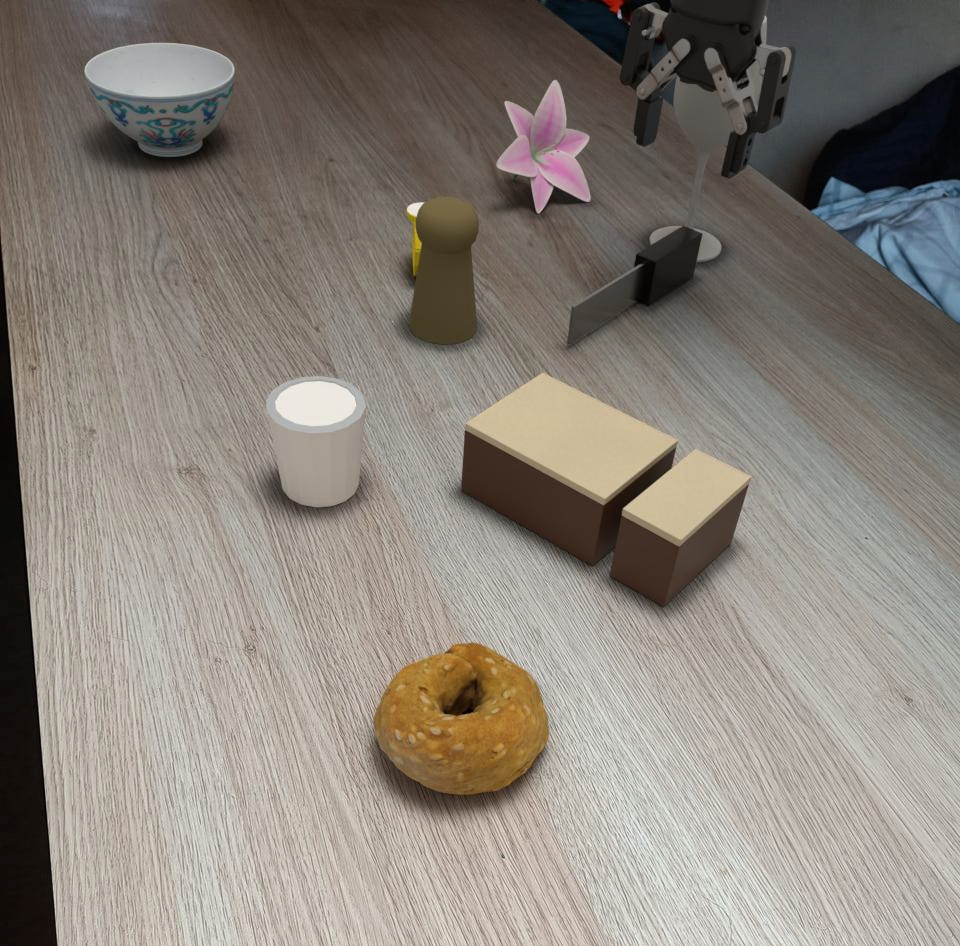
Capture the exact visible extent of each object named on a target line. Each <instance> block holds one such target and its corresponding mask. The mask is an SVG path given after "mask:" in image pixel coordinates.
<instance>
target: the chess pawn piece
mask: <svg viewBox="0 0 960 946" xmlns="http://www.w3.org/2000/svg"><path fill="white" fill-rule="evenodd" d="M423 203H424V204H422V206H421V207H420V209H419V210H418V214H417V217H416V226H415V228H416V232H417V236H418V238H419V240H420V241H421V243H422V245H421V251H420V258H419V264H418V270H417V276H416V277H415V282H414V290H413V295H412V302H411V308H410V315H409V319H408V327H409V330H410V332H411V333H412V334H413V335H414V336H415V337H417V338H419V339H420V340H422V341H425V342H428V343H431V344H438V345H454V344H458V343H462V342H466V341H468V340H469V339H471V338H473V337H474V336H475V334H476V333H477V330H478V319H477V307H476V306H477V305H476V293H475V292H476V291H475V280H474V269H473V268H474V267H473V252H472V245H473V244H474V243H475V242H476V240H477V237H478V234H479V229H480V219H479V215H478V214H477V211H476V209H475V208H474V206H473V205H472V204H471V203H470V202H468V201H466V200H465V199H461V198H459V197H454V196H438V197H433V198H430V199H428V200H426V201H424V202H423Z"/></svg>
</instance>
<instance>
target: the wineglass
mask: <svg viewBox="0 0 960 946" xmlns="http://www.w3.org/2000/svg"><path fill="white" fill-rule="evenodd" d="M767 32H768V18H767V15H765V18H764V20H763V23H762V27H761V38H762V43H763V44H766V45H767V35H768V33H767ZM749 70H750V73H751V76H752V79H753V82H754V86H755V90H756V91H755V99H756V103H757V104H759V99H760V94H761V88H762V83H763V77H762V76H761V75H760V73H759V72H760V65H759V62H758V61H757V60H756V61H755V62H754V63H753V64H752V65H751V66H750V67H749ZM733 85H734V88H735V89H736V90H737V86H736V82H734V83H733ZM673 91H674V92H673V105H672V106H673V109H674V116H675V120H676V123H677V124H678V125H679V128H680V130H681V132H682V133H683V134H684V136H685V137H686V138H687V139H688V141H689V142H690V143H691V144H692V146H693V147H694V148H695V149H696V151H697V167H696V172H695V178H694V183H693V188H692V192H691V195H690V202H689V205H688V206H689V207H688V210H687V217H686V219H685V223H684V225H671V226H670V225H669V226H664V227H659V228H658V229H656V230H654V231H653V232H652V233H651V234H650V236H649V240H648V241H649V246H650V245H652V244H653V243H655V242H657V241H658V240H660V239H662V238H663V237H665V236H667V235H668V234H670V233H672V232H673V231H675V230H677V229H678V228H680V227H682V226H685V227H688V228H690V229H693V230H695V231H698V232H700V233H702V239H701V244H700V248H699V253H698V257H697V262H696V264H697V263H705V262H708V261H712V260H714V259H717V258H718V257H719V256H720V254H721V252H722V247H723V246H722V245H721V244H722V243H721V242H720V240H719V239H718V238H717V237H716V236H714V235H713V234H711V233H709V232H707V231H705V230H702V229H699V228H695V218H696V213H697V208H698V204H699V198H700V194H701V190H702V189H701V188H702V184H703V179H704V174H705V171H706V165H707V163H708V160H709V159H710V158H709V157H710V156H711V155H712V154H713V152H715V151H717V150H718V149H720V148H722V147H724V146H725V145H728V140H729V136H730V132H732V131H734V129H733V126H732V123H731V120H730V117H729V114H728V111H727V109H726V108H724V107H723V106H722V104H721V101H720V98H719V95H718V92H717V91H714V92H709V91H706V90H704V89H702V88H701V87H700V86H698V85H697V84H686V83H683V82H680V78H679V77H678V76H677V77H676V79H675V86H674V90H673Z"/></svg>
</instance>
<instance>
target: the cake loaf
mask: <svg viewBox="0 0 960 946" xmlns="http://www.w3.org/2000/svg"><path fill="white" fill-rule="evenodd" d="M678 442H679V440H678V439H677V438H675V437H673V436H671V435H670V434H667V433H665V432H663V431H661V430H659V429H657V428H655V427H653V426H650V425H649V424H647V423H644V422H643V421H640V420H639V419H636V418H635V417H633V416H631V415H629V414H627V413H624V412H622V411H621V410H618V409H617V408H614V406H613V407H612V406H611V405H609V404H606V403H605V402H603V401H601V400H599V399H597V398H594V397H593V396H590V395H589V394H587V393H584V392H582V391H580V390H579V389H577V388H575V387H573V386H571V385H570V384H569V385H568V384H567V383H564V382H562V381H561V380H558V379H557V378H555V377H553V376H550V375H548V374H547V373H545V372H541V373H540V374H538V375H537V376H535V377H534V378H532V379H531V380H529V381H527V382H526V383H524V384H522V386H520V387H519V388H517V389H515V390H513V391H512V392H511V393H509V394H507V395H506V396H504V397H503V398H501V399H499V400H498V401H497V402H496V403H494V404H492V405H491V406H489V407H488V408H486V409H484V410H483V411H481V412H480V413H478V414H476V415H475V416H474V417H473V418H471V419H469V420H468V421H466V422H465V423H464V435H463V453H462V467H461V468H462V470H461V483H460V484H461V485H460V491H462V492H463V493H464V494H467V495H469V496H470V497H472V498H474V500H477V501H479V502H480V503H481V504H484V505H486V506H487V507H489V508H491V509H493V510H494V511H496V512H498V513H499V514H501V515H502V516H505V517H506V518H508V519H510V520H511V521H514V522H515V523H517V524H519V525H520V526H522V527H524V528H526V529H527V530H529V531H531V532H532V533H534V534H536V535H538V536H539V537H541V538H543V539H544V540H546V541H548V542H550V543H552V544H553V545H555V546H556V547H558V548H560V549H562V550H564V551H566V552H567V553H568V554H571V555H572V556H574V557H576V558H578V559H579V560H581V561H583V562H585V563H586V564H588V565H590V566H595V565H596V564H597V563H598V562H599V561H600V560H601V559H602V558H604V557H605V556H606V555H607V554H609V553H610V552H611V551H612V550H613V549H615V547H616V542H617V537H618V532H619V527H620V522H621V517H622V511H623V508H624V507H625V506H627V505H628V504H629V503H630V502H632V501H633V500H634V499H635V498H636V497H638V496H639V495H640V494H641V493H642V492H644V491H645V490H646V489H647V488H649V487H650V486H651V485H652V484H653V483H655V482H656V481H657V480H658V479H659V478H661V477H662V476H663V475H664V474H666V473H667V472H668V471H669V470H670V469H672V468H673V464H674V461H675V460H674V459H675V456H676V451H677V446H678Z"/></svg>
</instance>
